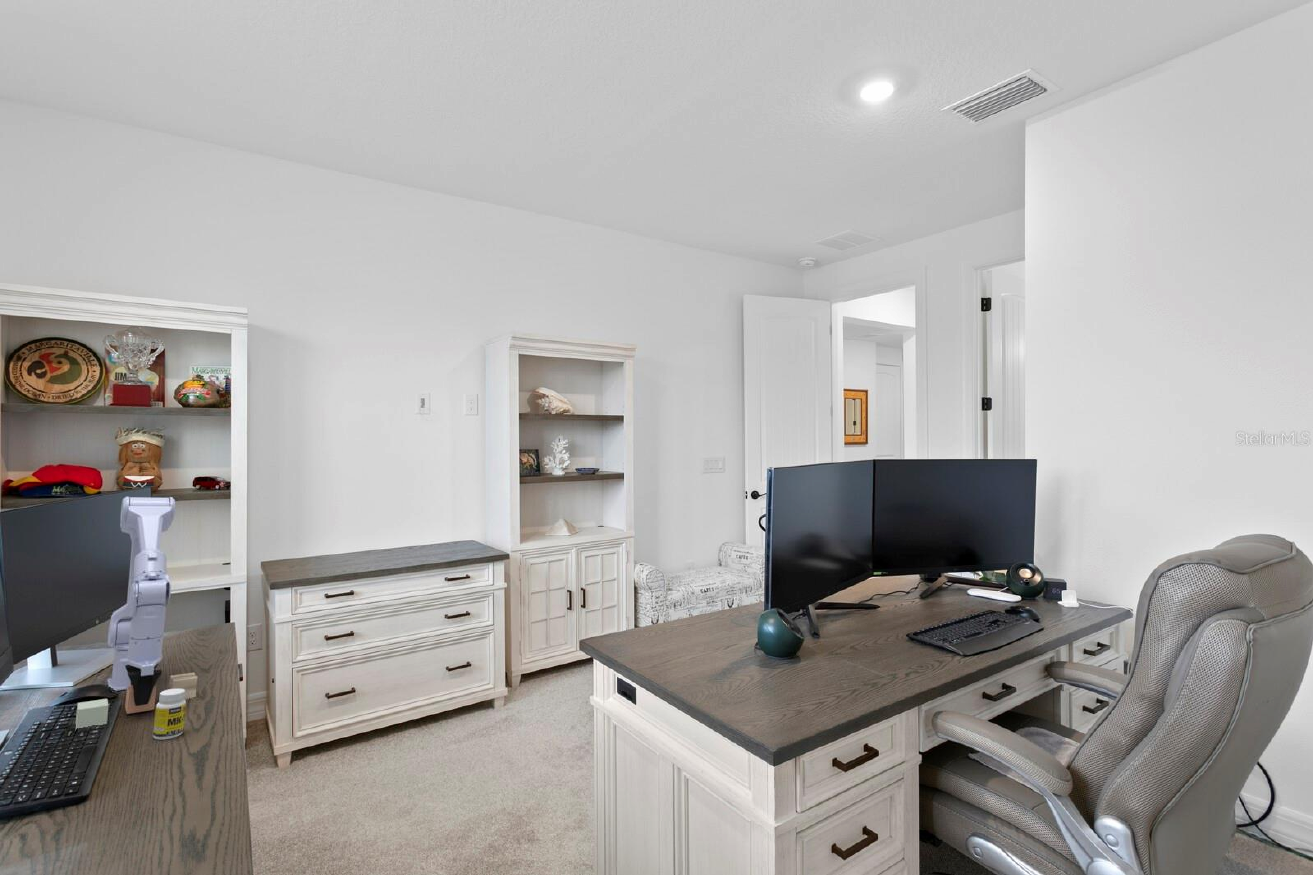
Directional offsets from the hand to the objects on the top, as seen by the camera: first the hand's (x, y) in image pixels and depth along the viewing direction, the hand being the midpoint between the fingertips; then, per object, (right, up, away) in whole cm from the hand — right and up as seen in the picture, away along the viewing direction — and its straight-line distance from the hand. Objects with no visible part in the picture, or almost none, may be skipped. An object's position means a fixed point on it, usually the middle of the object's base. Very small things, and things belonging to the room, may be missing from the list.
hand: (140, 701), depth 138 cm
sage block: (-3, -1, -9) cm, 10 cm away
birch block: (+2, -3, +9) cm, 10 cm away
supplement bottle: (+14, -2, -11) cm, 18 cm away
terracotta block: (0, -2, 0) cm, 2 cm away
